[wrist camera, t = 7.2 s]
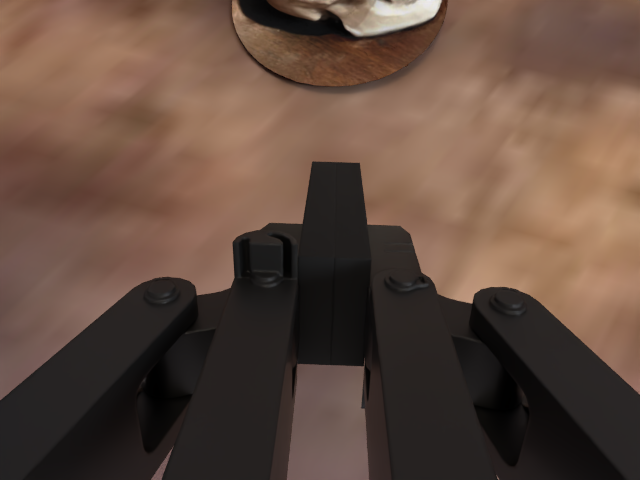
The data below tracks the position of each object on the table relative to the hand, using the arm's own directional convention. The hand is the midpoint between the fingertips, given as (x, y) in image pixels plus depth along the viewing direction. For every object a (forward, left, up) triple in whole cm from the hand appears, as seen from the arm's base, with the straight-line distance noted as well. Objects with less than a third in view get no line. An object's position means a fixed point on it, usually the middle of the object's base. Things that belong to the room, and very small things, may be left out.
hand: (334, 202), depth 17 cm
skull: (-3, +16, -8) cm, 18 cm away
